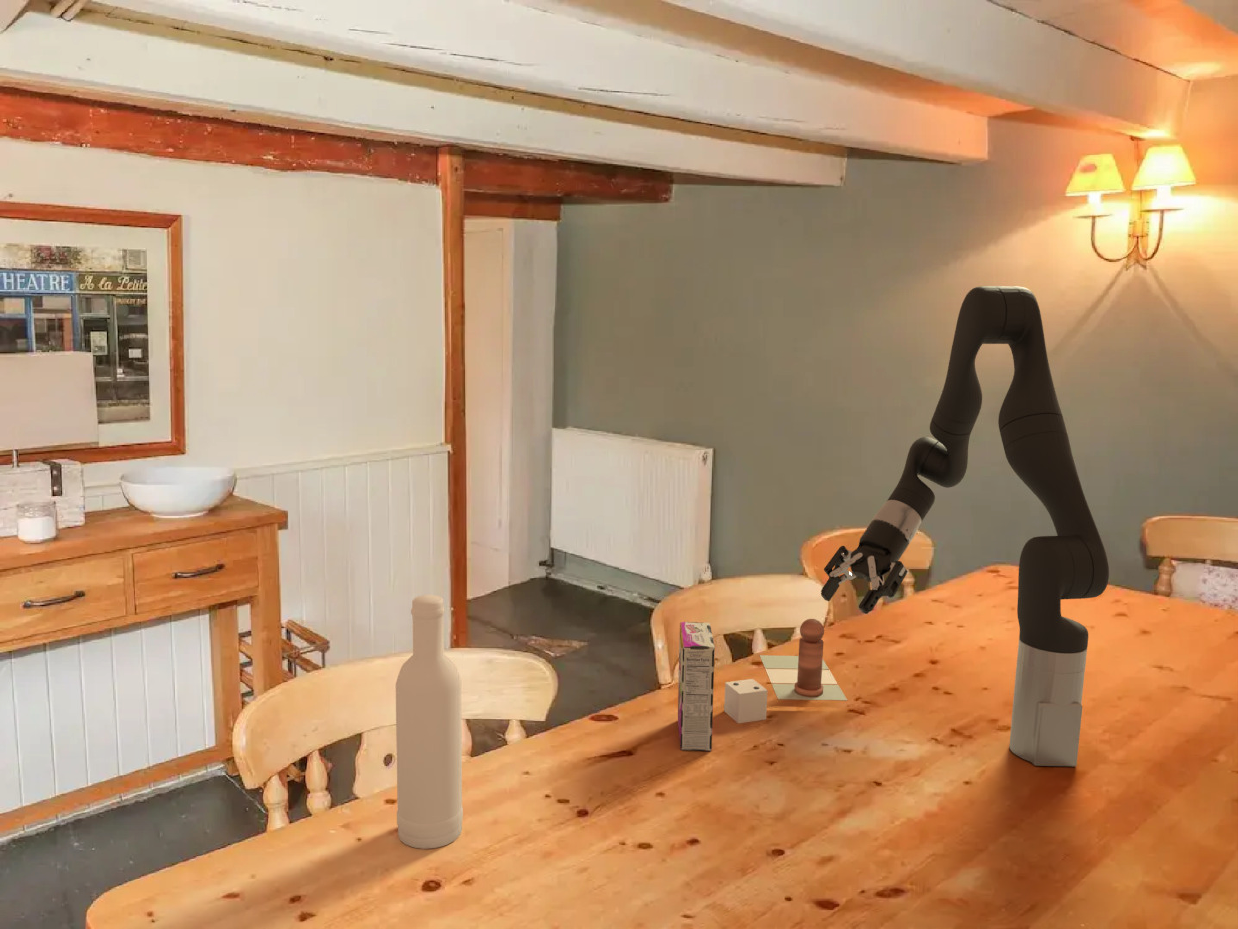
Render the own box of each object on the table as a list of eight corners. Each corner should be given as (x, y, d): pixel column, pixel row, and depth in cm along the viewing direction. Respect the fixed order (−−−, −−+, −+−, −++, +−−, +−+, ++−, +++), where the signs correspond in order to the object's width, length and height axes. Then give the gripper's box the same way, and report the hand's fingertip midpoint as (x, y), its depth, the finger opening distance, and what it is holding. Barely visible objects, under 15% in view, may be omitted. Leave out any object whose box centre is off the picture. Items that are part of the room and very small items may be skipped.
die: (766, 720, 157) (767, 689, 156) (738, 724, 155) (739, 693, 154) (751, 707, 161) (752, 678, 161) (724, 711, 160) (725, 682, 159)
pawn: (825, 697, 164) (830, 624, 162) (797, 697, 164) (801, 623, 162) (819, 686, 169) (823, 615, 167) (792, 685, 169) (795, 614, 167)
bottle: (434, 809, 127) (432, 585, 122) (476, 831, 122) (475, 598, 117) (383, 834, 121) (379, 599, 116) (425, 858, 116) (422, 613, 111)
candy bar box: (675, 720, 156) (679, 620, 153) (707, 721, 156) (711, 621, 153) (678, 751, 145) (682, 645, 142) (712, 752, 145) (716, 646, 142)
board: (852, 705, 163) (852, 702, 163) (774, 704, 163) (774, 700, 163) (824, 658, 185) (824, 655, 184) (755, 657, 184) (755, 653, 184)
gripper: (850, 511, 177) (802, 582, 172) (915, 526, 166) (866, 602, 161) (868, 536, 181) (821, 606, 176) (932, 553, 170) (885, 628, 165)
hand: (843, 604), depth 169 cm, fingers open, 8 cm apart
